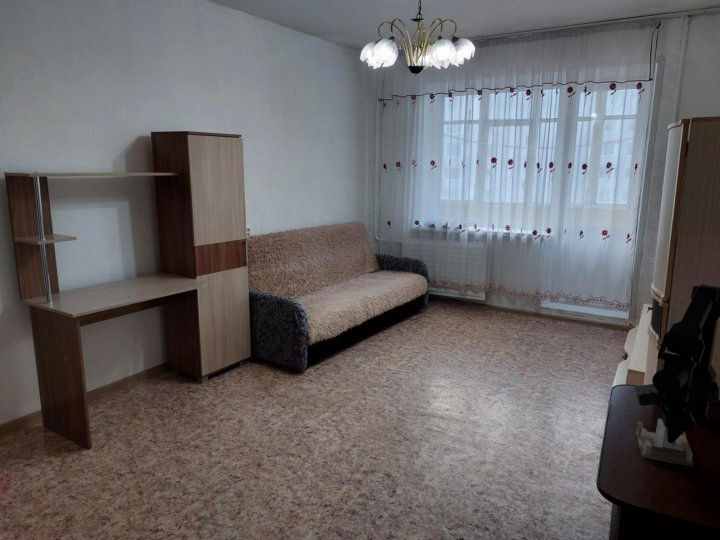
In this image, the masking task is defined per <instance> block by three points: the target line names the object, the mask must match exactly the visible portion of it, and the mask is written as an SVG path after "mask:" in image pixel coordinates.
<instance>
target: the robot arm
mask: <svg viewBox="0 0 720 540" xmlns="http://www.w3.org/2000/svg"><path fill="white" fill-rule="evenodd" d="M689 299H690V302H689V304H688V306H687V308H686V311H685V312H684V315H683V316H682V319H681V320H680V321H678V322H676V323H673V324H672V325H671V327H670V328H669V330H668V331H666V332H665V333H664V335H663V339H662V342H661V345H660V348H659V350H658V354H657V356H656V357H657V359H659V360H663V365H662V366H661V367H660V368H659V369H658V370H657V371H656V372H655V373H654V374H653V376H652V379H651V382H652V383H649V384H642V385H637V386H635V387H634V390H635V394H636V396H637V397H636V398H637V400H638V404H639V405H640V406H643V407H645V406H654V405H656V406H658V408H659V410H660V412H661V413H660V414H661V416H660V419H662V421H663V423H664V426H666V427H667V436H668V443H674V442H675V441H676V440H677V438H678V437H679V436H680V435H681V434H682V433H683V432H684V431H685V432H692V433H695V432H696V429H697V421H703V422H712V419H711V417H710V416H709V413H708V412H709V407H710V403H712V404H714V402H715V403H716V402H717V403H719V400H720V387H719V383H718V382H717V376H718V375H717V373H716V371H715V369H714V367H713V365H712V364H713V358H714V357H713V356H714V349H715V345H716V344H715V343H716V339H717V338H716V337H717V332H718V325H719V319H720V286H714V285H708V284H707V285H706V284H700V285H695V286H694V285H692V289H691V294H690V297H689ZM666 351H667V352H666ZM696 420H697V421H696Z"/></svg>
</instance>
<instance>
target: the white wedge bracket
mask: <svg viewBox="0 0 720 540" xmlns="http://www.w3.org/2000/svg"><path fill="white" fill-rule="evenodd" d="M655 433H656V435H655V440H654V441H655V444H656V446H658V447H664V448H669V449H675V450H678V448H679V446H678V444H677V442H676V441H675V442H674V443H668V436H667V427H666V426H664V423H663V421H662V419H661V418H658V419H657V425H656V430H655Z"/></svg>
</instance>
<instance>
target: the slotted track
mask: <svg viewBox="0 0 720 540" xmlns="http://www.w3.org/2000/svg"><path fill="white" fill-rule="evenodd" d="M635 434H636V438H637V439H638V440H637V443H638V448H639V450H640V453H641V457H642V458H644V459H650V460H655V461H660V462H665V463H671V464H675V465H682V466H686V467H692V468H693V467H694V464H695V463H694V461H693V451H692V449H691V446H690V444H689V442H688V440H687V438H688V437H687V434H686V431H684V432H683V433H682V434H681V435H680V436H679V437H678V438H677V440H676V442H677V444H678V446H679V448H678V450H675V449H669V448H664V447H658V446H656V444H655V441H654V440H655V435H656V432H652V431H648V430H647V429H646V428H645V427H644V425H643V422H642V421H637V425H636V429H635Z"/></svg>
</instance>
